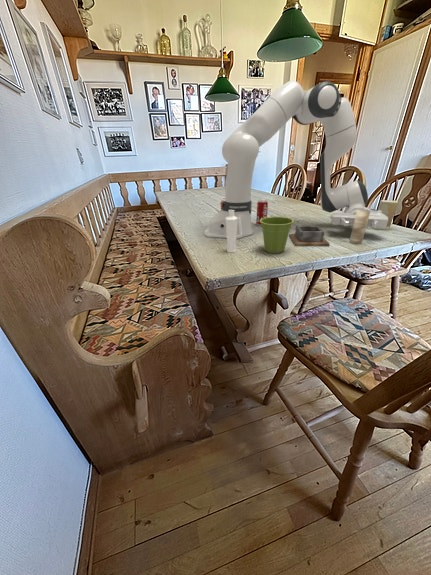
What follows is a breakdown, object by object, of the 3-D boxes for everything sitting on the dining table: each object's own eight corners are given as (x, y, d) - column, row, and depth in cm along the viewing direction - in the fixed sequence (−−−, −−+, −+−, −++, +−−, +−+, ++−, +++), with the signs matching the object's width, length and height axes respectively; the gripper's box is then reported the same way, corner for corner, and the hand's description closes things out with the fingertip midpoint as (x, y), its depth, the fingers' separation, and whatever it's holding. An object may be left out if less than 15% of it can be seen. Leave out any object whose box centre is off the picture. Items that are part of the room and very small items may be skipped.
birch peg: (351, 244, 96) (359, 213, 90) (347, 240, 100) (354, 210, 94) (363, 244, 96) (372, 212, 90) (358, 240, 100) (366, 210, 94)
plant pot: (281, 243, 99) (284, 215, 94) (296, 254, 89) (300, 222, 83) (253, 246, 97) (255, 217, 92) (265, 257, 87) (267, 225, 81)
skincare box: (373, 229, 113) (381, 201, 107) (372, 226, 116) (379, 199, 110) (389, 230, 111) (398, 202, 105) (388, 227, 114) (396, 200, 108)
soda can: (266, 223, 127) (267, 199, 122) (266, 226, 123) (268, 201, 117) (255, 223, 128) (257, 199, 122) (256, 226, 123) (257, 201, 118)
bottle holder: (294, 246, 96) (296, 233, 94) (288, 236, 107) (290, 224, 105) (329, 246, 95) (331, 233, 93) (319, 236, 106) (321, 224, 104)
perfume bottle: (229, 253, 91) (229, 212, 84) (223, 250, 94) (223, 210, 87) (239, 251, 93) (240, 210, 85) (233, 248, 96) (234, 208, 89)
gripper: (331, 208, 108) (332, 215, 97) (385, 210, 101) (392, 218, 90) (328, 222, 111) (328, 230, 100) (381, 225, 104) (387, 235, 93)
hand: (359, 224), depth 95 cm, fingers open, 8 cm apart
